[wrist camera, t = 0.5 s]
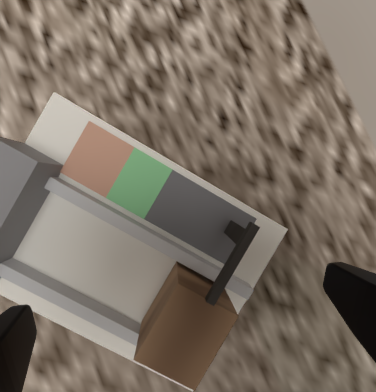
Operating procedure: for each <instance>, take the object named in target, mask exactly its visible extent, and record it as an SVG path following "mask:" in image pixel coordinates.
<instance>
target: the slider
mask: <svg viewBox="0 0 376 392" xmlns="http://www.w3.org/2000/svg"><path fill="white" fill-rule="evenodd" d="M259 229H260V227H259V226H257V225H255V224H254V223H252V222H249V223H248V225H247V227H246V229H245V228H243V227H242V226H240V225H239V224H237V223H235V222H234V221H232V220H231V221H230V223H229V224H228V226H227V228H226V229H225V231H224V233H225V234H226V235H227V236H228V237H229V238H230V239H231V240H232V241H233V242H234V243H235V244H236V246H235V247H234V249H233V251H232V252H231V254H230V256H229V258H228V259H227V261H226V263H225V264H224V266H223V268H222V270H221V271H220V273H219V275H218V276H217V278H216V280H215V282H214V281H212V280H210V279H208V278H206V277H205V276H203V275H201V274H199V273H197V272H196V271H194V270H192V269H190V268H188V267H187V266H185V265H183V264H181V263H179V262H177V261H176V263H175V265H174V266H173V268H172V270H171V272H170V273H169V275H168V277H167V278H166V280H165V282H164V284H163V285H162V287H161V289H160V290H159V292H158V294H157V296H156V297H155V299H154V301H153V303H152V304H151V306H150V308H149V309H148V311H147V313H146V315H145V316H144V318H143V320H142V322H141V327H140V332H139V336H138V341H137V346H136V350H135V355H134V360H135V361H137V362H139V363H141V364H143V365H145V366H147V367H149V368H151V369H153V370H155V371H157V372H158V373H160V374H162V375H164V376H166V377H168V378H170V379H172V380H174V381H176V382H178V383H180V384H182V385H184V386H186V387H188V388H190V389H192V390H194V391H195V390H196V388H197V386H198V384H199V383H200V381H201V379H202V378H203V376H204V374H205V373H206V371H207V369H208V367H209V366H210V364H211V362H212V361H213V359H214V357H215V356H216V354H217V352H218V350H219V349H220V347H221V345H222V344H223V342H224V340H225V339H226V337H227V335H228V333H229V332H230V330H231V328H232V327H233V325H234V323H235V322H236V320H237V318H238V314H237V312H236V310H235V308H234V306H233V304H232V302H231V300H230V298H229V296H228V294H227V292H226V290H225V287H226V285H227V283H228V282H229V280H230V278H231V276H232V275H233V273H234V271H235V270H236V268H237V266H238V264H239V263H240V261H241V259H242V258H243V256H244V254H245V252H246V251H247V249H248V247H249V246H250V244H251V242H252V241H253V239H254V237H255V235H256V234H257V232H258V230H259Z"/></svg>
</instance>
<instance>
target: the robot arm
mask: <svg viewBox="0 0 376 392" xmlns="http://www.w3.org/2000/svg"><path fill="white" fill-rule="evenodd" d="M323 287H324V290H325V292H326V294H327V295H328V297H329V298H330V300H331V301H332V303H333V304H334V306H335V307H336V309H337V310H338V312H339V313H340V315H341V316H342V318H343V319H344V321H345V322H346V324H347V325H348V327H349V328H350V330H351V331H352V333H353V334H354V335H355V337H356V338H357V339H358V341H359V342H360V343H361V345H362V346H363V347H364V348H365V350H366V351H367V352H368V354H369V355H370V356H371V357H372V359H373V360H374V361H375V362H376V274H375V273H372V272H369V271H366V270H363V269H361V268H358V267H355V266H352V265H349V264H346V263H343V262H334V263H329V264H328V265H327V267H326V272H325V277H324V282H323ZM36 333H37V330H36V325H35V321H34V317H33V313H32V309H31V307H30V305H27V304H25V305H18V306H12V307H10V308H9V309H7V310H6V311H4V312H3V313H2V314H0V392H22V389H23V386H24V382H25V378H26V374H27V370H28V366H29V362H30V359H31V355H32V351H33V347H34V343H35V339H36Z"/></svg>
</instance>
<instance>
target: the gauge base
mask: <svg viewBox="0 0 376 392" xmlns="http://www.w3.org/2000/svg"><path fill="white" fill-rule="evenodd" d="M231 220H232V221H234V222H235V223H237V224H239V225H240V226H242V227H243V228H245V229H246V227H247V225H248V223H249V222H252V223H254V224H255V225H257V226H259V227H260V229H259V230H258V232H257V234H256V235H255V237H254V239H253V241H252V242H251V244H250V246H249V247H248V249H247V251H246V252H245V254H244V256H243V258H242V259H241V261H240V263H239V264H238V266H237V268H236V270H235V271H234V273H233V275H232V276H231V278H230V280H229V282H228V283H227V285H226V287H225V290H226V292H227V294H228V296H229V298H230V300H231V302H232V304H233V306H234V308H235V310H236V312H237V314H238V313H239V312H240V310H241V308H242V307H243V305H244V303H245V302H246V300H249V298H250V296H251V294H252V293H253V291H254V290H253V288H254V286H255V285H256V283H257V281H258V279H259V278H260V276H261V274H262V273H263V271H264V269H265V268H266V266H267V264H268V262H269V261H270V259H271V257H272V256H273V254H274V252H275V251H276V249H277V247H278V245H279V244H280V242H281V240H282V239H283V237H284V235H285V233H286V232H287V230H288V229H287V228H285V227H283V226H281V225H280V224H278V223H276V222H275V221H273V220H271V219H270V218H268V217H266V216H264V215H263V214H261V213H259V212H258V211H256V210H254V209H253V208H251V207H249V206H247V205H246V204H244V203H242V202H241V201H239V200H237V199H236V198H234V197H232V196H230V195H229V194H227V193H225V192H224V191H222V190H220V189H218V188H217V187H215V186H213V185H212V184H210V183H208V182H207V181H205V180H203V179H201V178H200V177H198V176H196V175H195V174H193V173H191V172H190V171H188V170H186V169H184V168H183V167H181V166H179V165H178V164H176V163H174V162H173V161H171V160H169V159H167V158H166V157H164V156H162V155H161V154H159V153H157V152H156V151H154V150H152V149H150V148H149V147H147V146H145V145H144V144H142V143H140V142H139V141H137V140H135V139H133V138H132V137H130V136H128V135H127V134H125V133H123V132H122V131H120V130H118V129H116V128H115V127H113V126H111V125H110V124H108V123H106V122H105V121H103V120H101V119H99V118H98V117H96V116H94V115H93V114H91V113H89V112H88V111H86V110H84V109H82V108H81V107H79V106H77V105H76V104H74V103H72V102H70V101H69V100H67V99H65V98H64V97H62V96H60V95H59V94H57V93H55V92H53V94H52V96H51V98H50V100H49V101H48V103H47V105H46V107H45V108H44V110H43V112H42V114H41V115H40V117H39V119H38V121H37V122H36V124H35V126H34V128H33V130H32V131H31V133H30V135H29V137H28V138H27V140H26V142H25V143H22V142H18V141H14V140H10V139H6V138H3V137H0V295H2V296H4V297H6V298H8V299H10V300H12V301H14V302H16V303H18V304H20V305H25V304H27V305H30V307H31V309H32V311H34V312H36V313H37V314H39V315H41V316H43V317H45V318H47V319H49V320H51V321H53V322H55V323H57V324H59V325H61V326H63V327H65V328H67V329H69V330H71V331H73V332H75V333H77V334H79V335H81V336H83V337H85V338H87V339H89V340H91V341H93V342H95V343H97V344H99V345H101V346H103V347H105V348H107V349H109V350H111V351H113V352H115V353H117V354H119V355H121V356H123V357H125V358H127V359H129V360H131V361H133V362H135V363H137V364H139V365H141V366H143V367H145V368H147V369H149V370H151V371H153V372H155V373H157V374H159V375H161V376H163V377H165V378H167V379H169V380H171V381H173V382H175V383H177V384H179V385H181V386H183V387H184V388H186V389H188V390H190V391H192V392H193V390H192V389H190V388H188V387H186V386H184V385H182V384H180V383H178V382H176V381H174V380H172V379H170V378H168V377H166V376H164V375H162V374H160V373H158V372H157V371H155V370H153V369H151V368H149V367H147V366H145V365H143V364H141V363H139V362H137V361H135V360H134V355H135V350H136V346H137V341H138V336H139V332H140V327H141V322H142V320H143V318H144V316H145V315H146V313H147V311H148V309H149V308H150V306H151V304H152V303H153V301H154V299H155V297H156V296H157V294H158V292H159V290H160V289H161V287H162V285H163V284H164V282H165V280H166V278H167V277H168V275H169V273H170V272H171V270H172V268H173V266H174V265H175V263H176V261H177V262H179V263H181V264H183V265H185V266H187V267H188V268H190V269H192V270H194V271H196V272H197V273H199V274H201V275H203V276H205V277H206V278H208V279H210V280H212V281H214V282H215V280H216V278H217V276H218V275H219V273H220V271H221V270H222V268H223V266H224V264H225V263H226V261H227V259H228V258H229V256H230V254H231V252H232V251H233V249H234V247H235V246H236V244H235V243H234V242H233V241H232V240H231V239H230V238H229V237H228V236H227V235H226V234H225V233H224V231H225V229H226V228H227V226H228V224H229V223H230V221H231Z"/></svg>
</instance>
